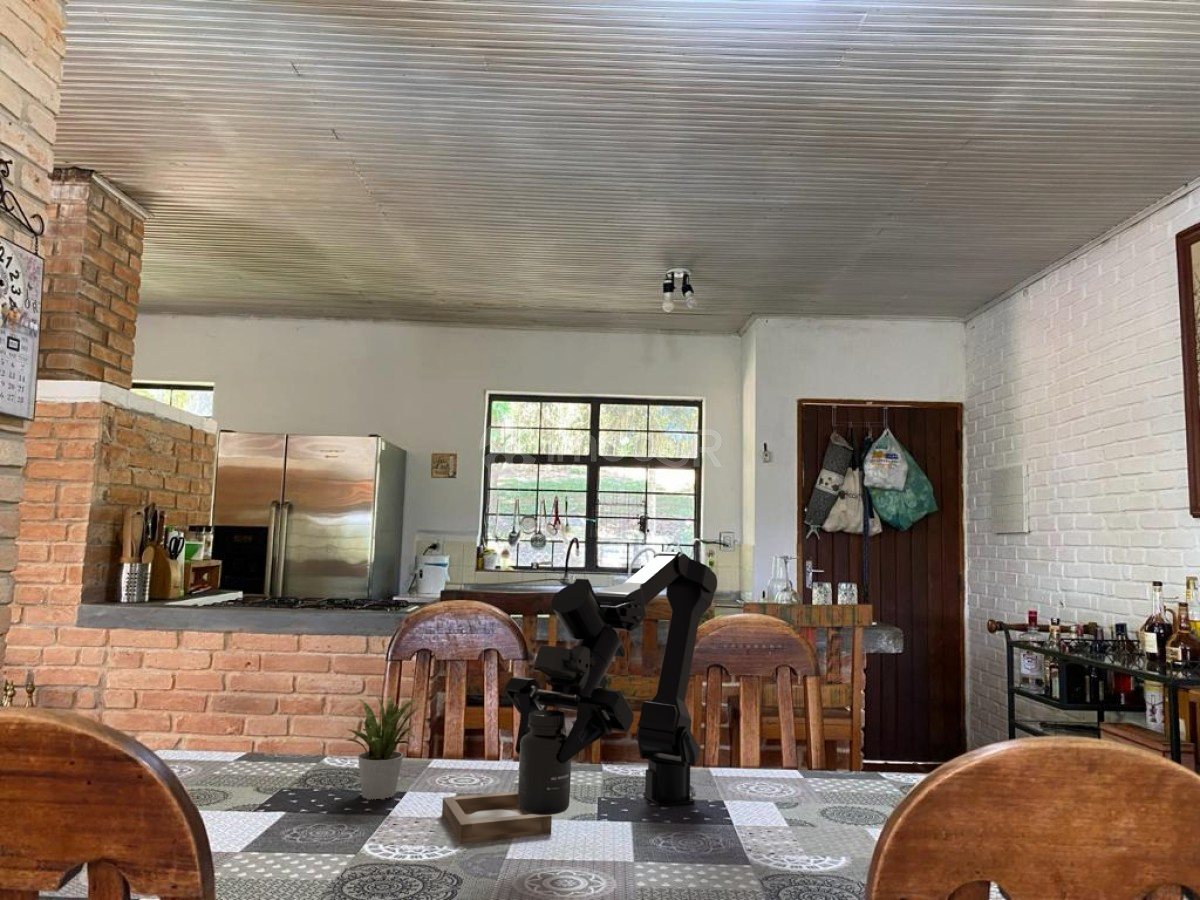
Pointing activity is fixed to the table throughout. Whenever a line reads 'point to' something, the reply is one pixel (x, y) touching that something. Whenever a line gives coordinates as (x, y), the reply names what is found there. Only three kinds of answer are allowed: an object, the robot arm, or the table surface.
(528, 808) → the supplement bottle
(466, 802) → the holder
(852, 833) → the table surface
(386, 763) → the house plant
